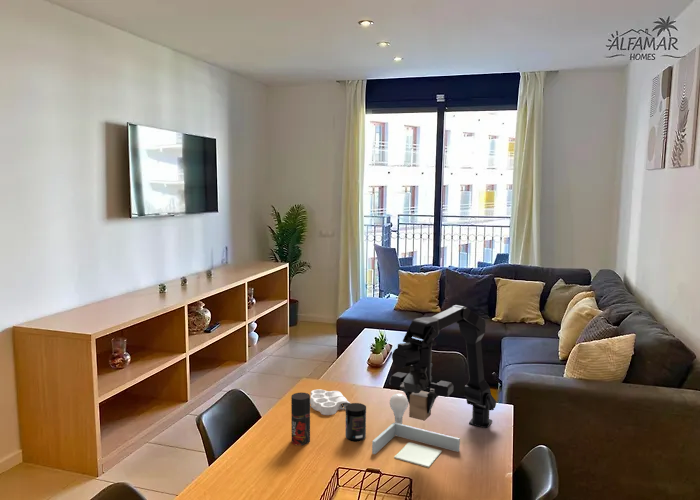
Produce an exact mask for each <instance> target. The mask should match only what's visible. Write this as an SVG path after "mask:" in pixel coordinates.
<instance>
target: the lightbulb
mask: <svg viewBox="0 0 700 500" xmlns="http://www.w3.org/2000/svg"><path fill="white" fill-rule="evenodd" d="M389 406H390V408H391V411H392V412H393V415H394V423H400V424H403V417H404V414H405V412H406V410H407V409H408V408H409V402H408V399H407V397H406V394H404V393H400V392H398V393H394V394H393V395H392V396H391V397H390V399H389Z"/></svg>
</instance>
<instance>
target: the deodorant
mask: <svg viewBox="0 0 700 500" xmlns="http://www.w3.org/2000/svg"><path fill="white" fill-rule="evenodd" d="M290 399H291V402H290V403H291V408H290V409H291V410H290V411H291V412H290V414H291V416H290V419H291V443H292V444H293V445H294V446H305V445H308V444H310V442H311V403H310V399H311V394H309V393H307V392H296V393H293V394H292V395H291V398H290Z"/></svg>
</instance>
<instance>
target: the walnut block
mask: <svg viewBox="0 0 700 500" xmlns="http://www.w3.org/2000/svg"><path fill="white" fill-rule="evenodd" d="M429 392H430V391H429ZM429 392H428V391H424V390H421V391H420V392H419V393H414V392H413V393H411V394H410V405H408V409H409V410H408V411H409V413H408V417H409V418H412V419H415V420H416V419H417V420H420V421H426V420H427V419H428V418H429V417H430V416H431V415H432V410H431V411H430V413H429V414H428V413H427V405H428V396H427V394H428V393H429Z"/></svg>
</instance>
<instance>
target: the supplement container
mask: <svg viewBox="0 0 700 500" xmlns="http://www.w3.org/2000/svg"><path fill="white" fill-rule="evenodd" d="M344 412H345V436H344V437H345V438H346V440H347V441H349V442H353V443H358V442H362V441H364V440H365V439H366V436H367V433H366V432H367V431H366V430H367V405H365V404H363V403H360V402H352V403H351V402H350V404H348V405H346V409H345V411H344Z"/></svg>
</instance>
